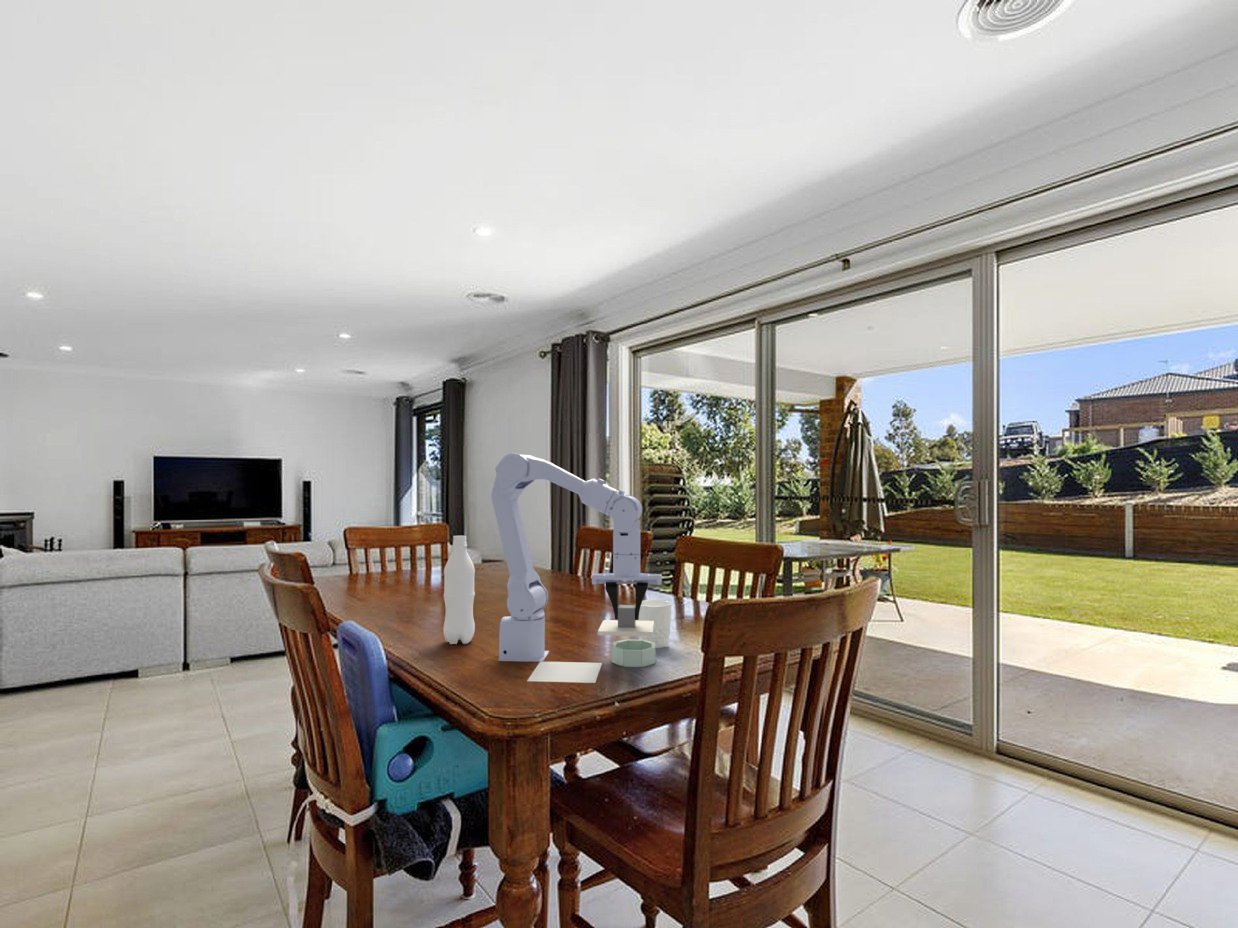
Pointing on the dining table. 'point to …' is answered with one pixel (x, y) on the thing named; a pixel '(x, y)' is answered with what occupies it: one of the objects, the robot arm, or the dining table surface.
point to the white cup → (657, 621)
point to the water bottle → (459, 594)
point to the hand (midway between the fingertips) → (626, 618)
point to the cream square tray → (566, 672)
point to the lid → (626, 624)
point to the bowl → (633, 653)
